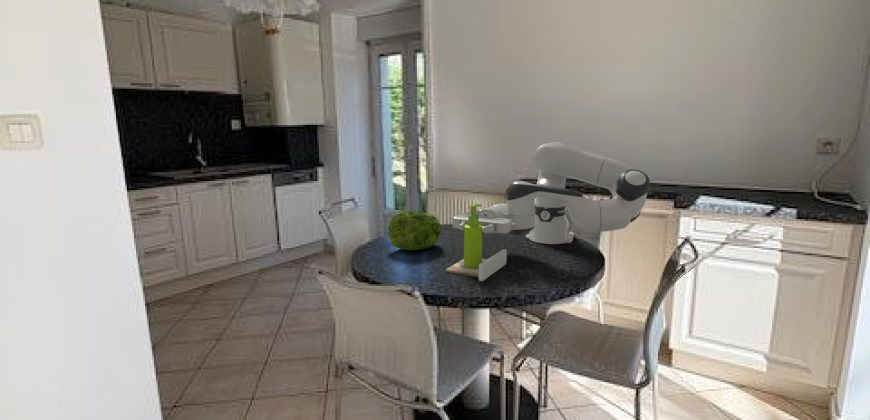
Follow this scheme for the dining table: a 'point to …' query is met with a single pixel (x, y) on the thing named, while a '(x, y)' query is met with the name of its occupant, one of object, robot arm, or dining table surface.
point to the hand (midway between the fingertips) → (472, 228)
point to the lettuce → (414, 230)
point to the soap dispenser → (473, 239)
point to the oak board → (464, 269)
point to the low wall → (492, 264)
